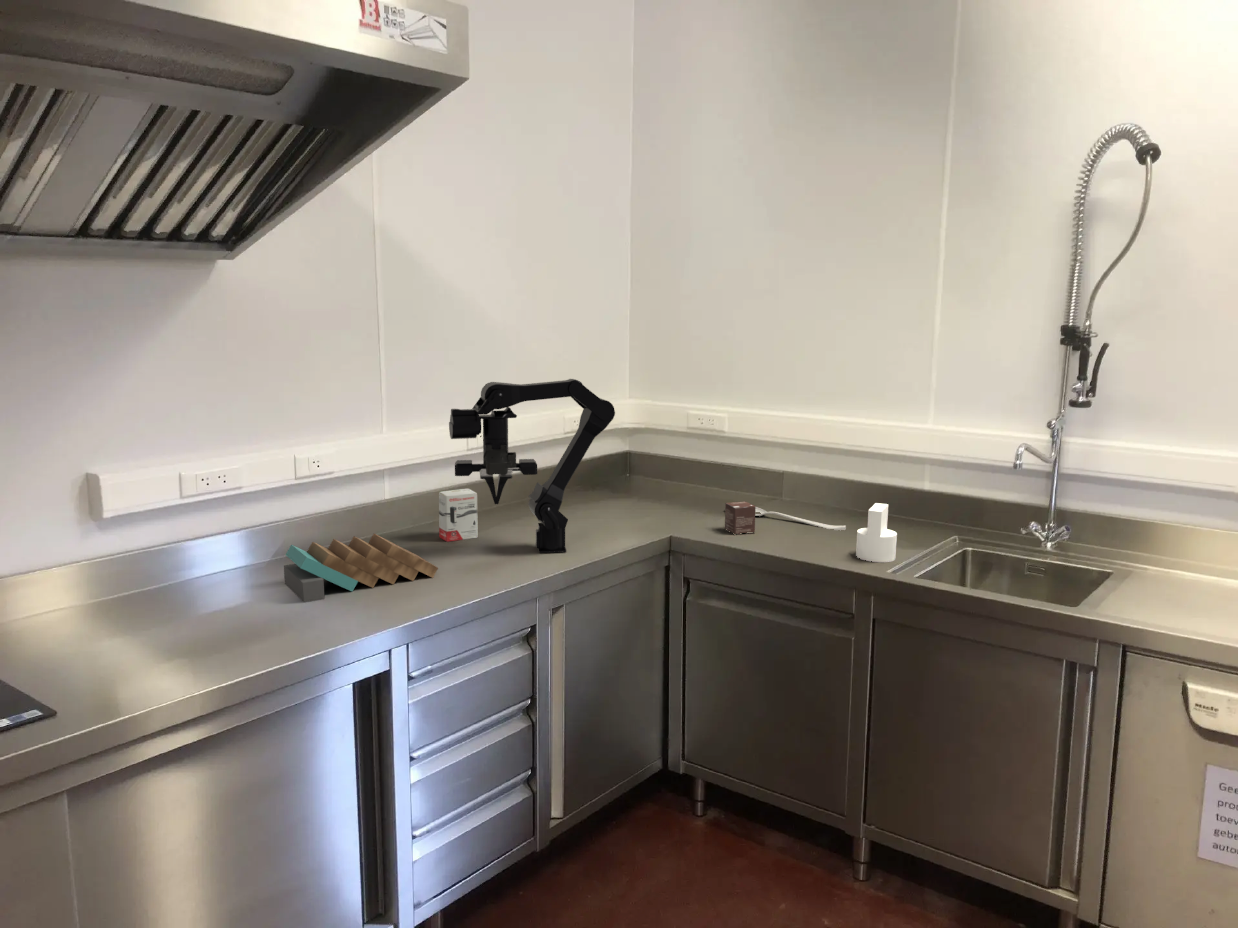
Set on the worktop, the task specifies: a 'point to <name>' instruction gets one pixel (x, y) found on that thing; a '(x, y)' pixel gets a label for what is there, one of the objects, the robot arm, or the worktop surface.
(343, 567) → the domino
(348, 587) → the domino
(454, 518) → the ink box
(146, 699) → the worktop surface
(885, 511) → the cylinder with rectangular tab
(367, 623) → the worktop surface
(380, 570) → the domino
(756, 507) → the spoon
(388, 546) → the domino
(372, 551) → the domino
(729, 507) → the box
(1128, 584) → the worktop surface
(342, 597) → the worktop surface
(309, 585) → the block
